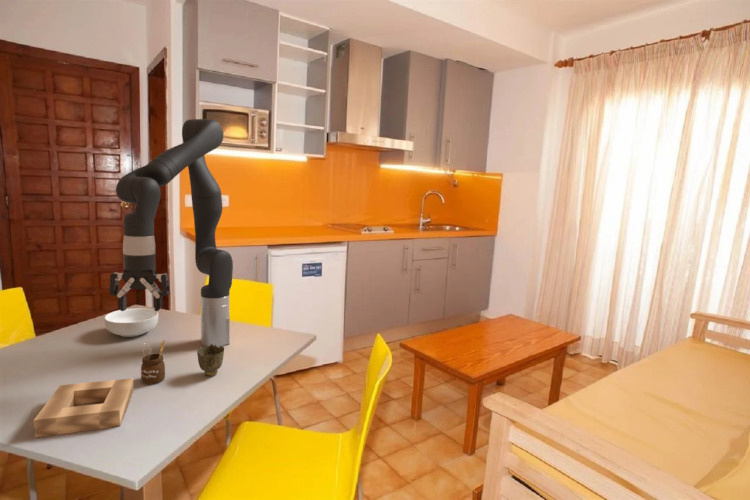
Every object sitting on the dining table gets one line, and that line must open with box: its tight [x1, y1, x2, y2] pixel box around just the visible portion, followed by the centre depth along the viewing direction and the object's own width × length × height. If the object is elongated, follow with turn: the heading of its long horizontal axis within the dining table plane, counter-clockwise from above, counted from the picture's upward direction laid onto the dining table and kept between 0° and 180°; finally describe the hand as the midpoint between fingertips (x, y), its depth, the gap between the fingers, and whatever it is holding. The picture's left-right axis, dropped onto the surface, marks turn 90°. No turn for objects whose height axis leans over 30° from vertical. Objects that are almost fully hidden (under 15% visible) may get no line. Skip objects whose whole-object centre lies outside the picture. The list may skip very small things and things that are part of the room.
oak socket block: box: [33, 377, 134, 438], centre depth 99 cm, size 16×16×4 cm
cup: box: [196, 344, 225, 377], centre depth 122 cm, size 8×7×8 cm
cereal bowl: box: [104, 307, 159, 338], centre depth 149 cm, size 17×17×7 cm
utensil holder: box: [140, 339, 166, 386], centre depth 116 cm, size 6×6×12 cm
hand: (140, 310), depth 113 cm, fingers open, 8 cm apart
